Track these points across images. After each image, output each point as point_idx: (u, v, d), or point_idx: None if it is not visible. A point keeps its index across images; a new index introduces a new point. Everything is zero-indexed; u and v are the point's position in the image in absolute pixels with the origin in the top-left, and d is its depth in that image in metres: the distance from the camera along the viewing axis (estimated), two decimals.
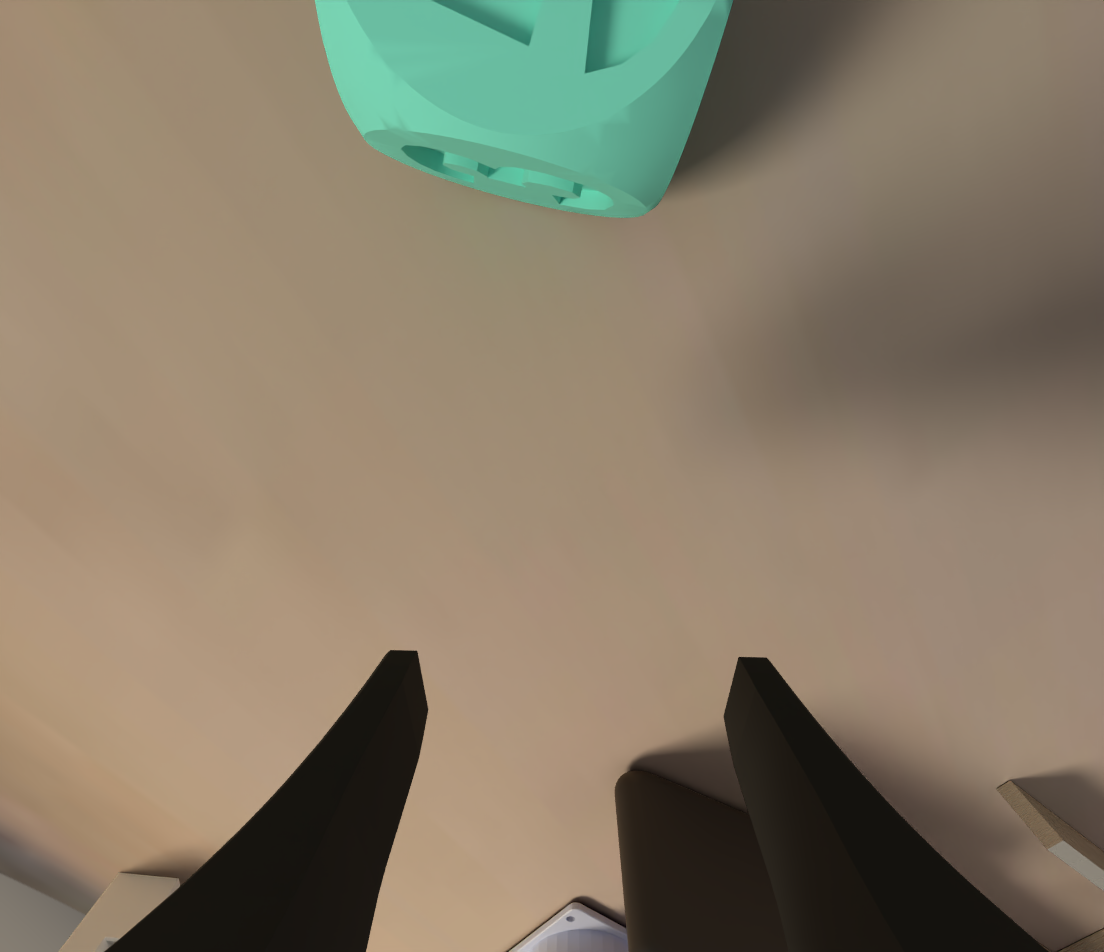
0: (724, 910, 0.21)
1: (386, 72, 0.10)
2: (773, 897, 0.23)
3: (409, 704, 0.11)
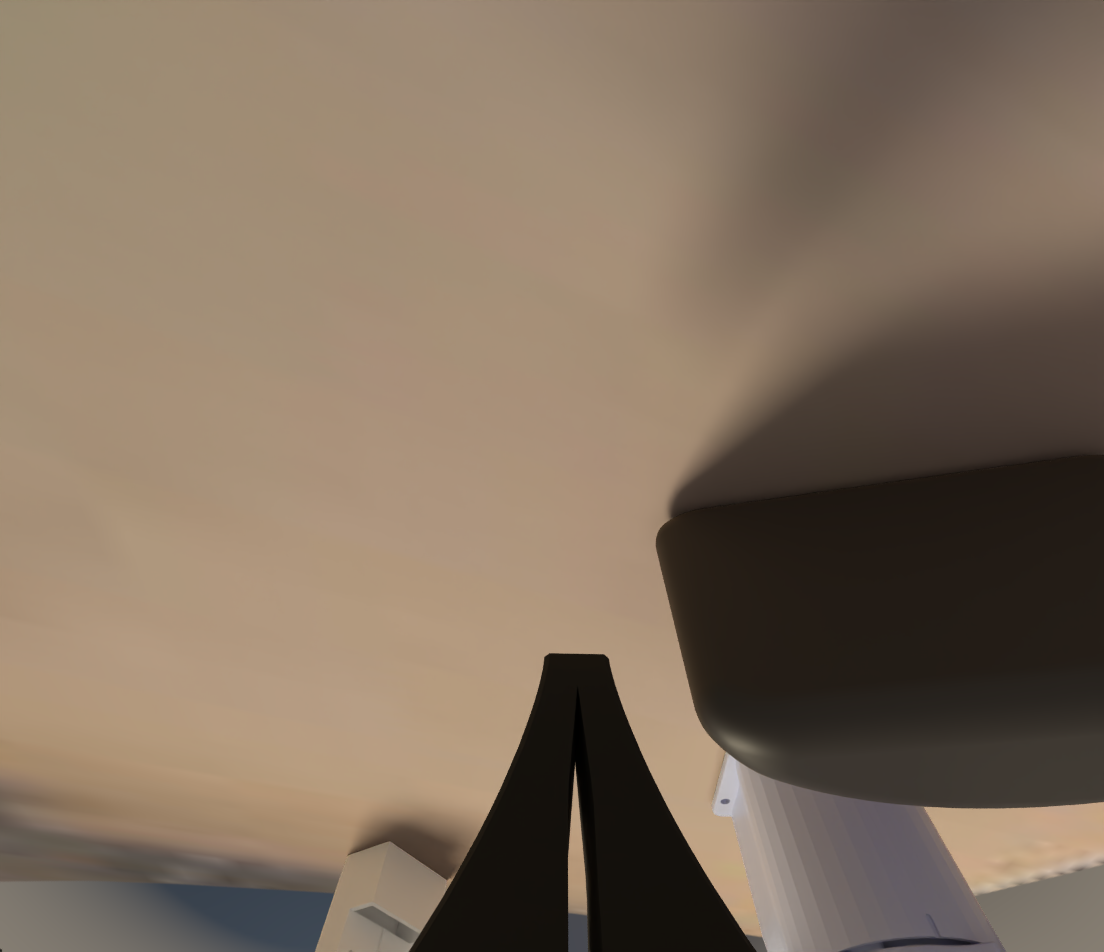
0: (835, 603, 0.14)
1: None
2: (927, 555, 0.15)
3: None
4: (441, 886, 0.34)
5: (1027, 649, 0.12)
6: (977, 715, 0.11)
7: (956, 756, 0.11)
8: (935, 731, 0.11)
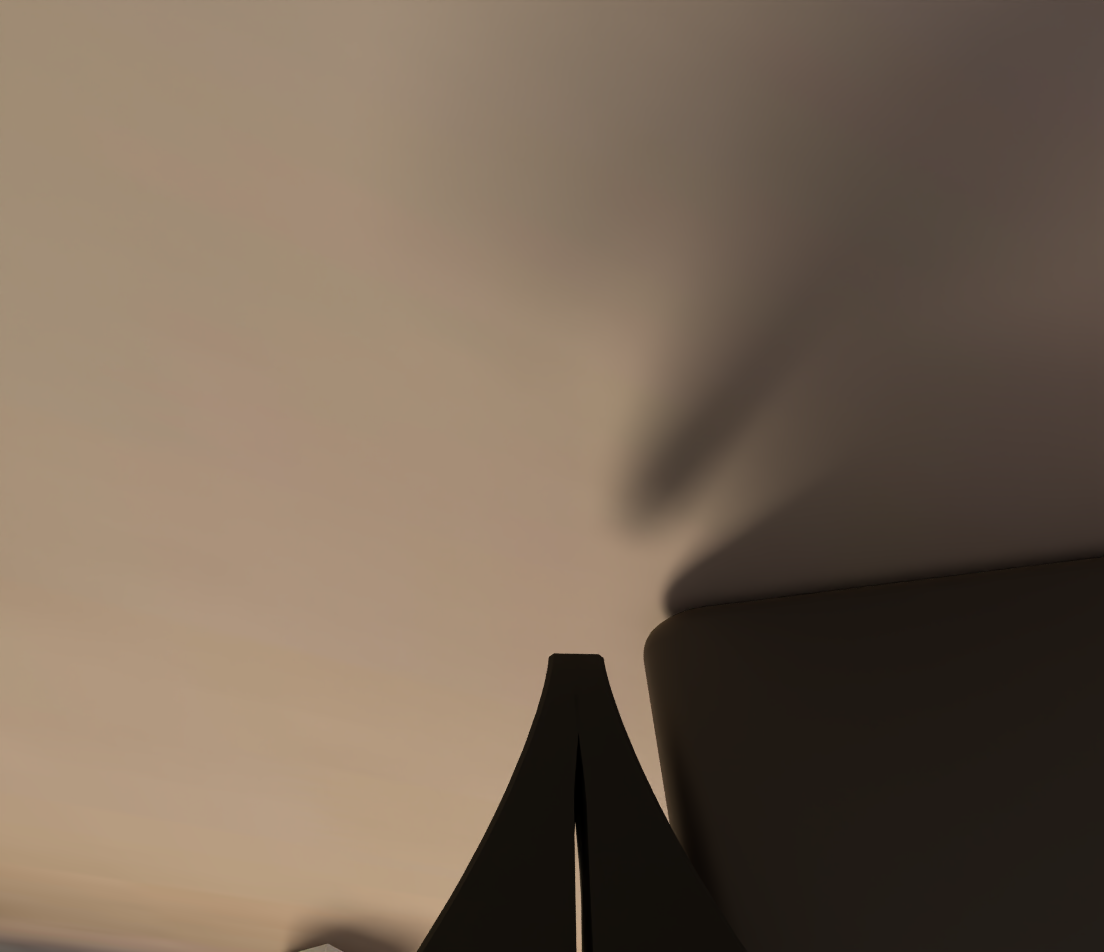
0: (904, 801, 0.09)
1: None
2: (1031, 714, 0.10)
3: None
4: None
5: None
6: None
7: None
8: None
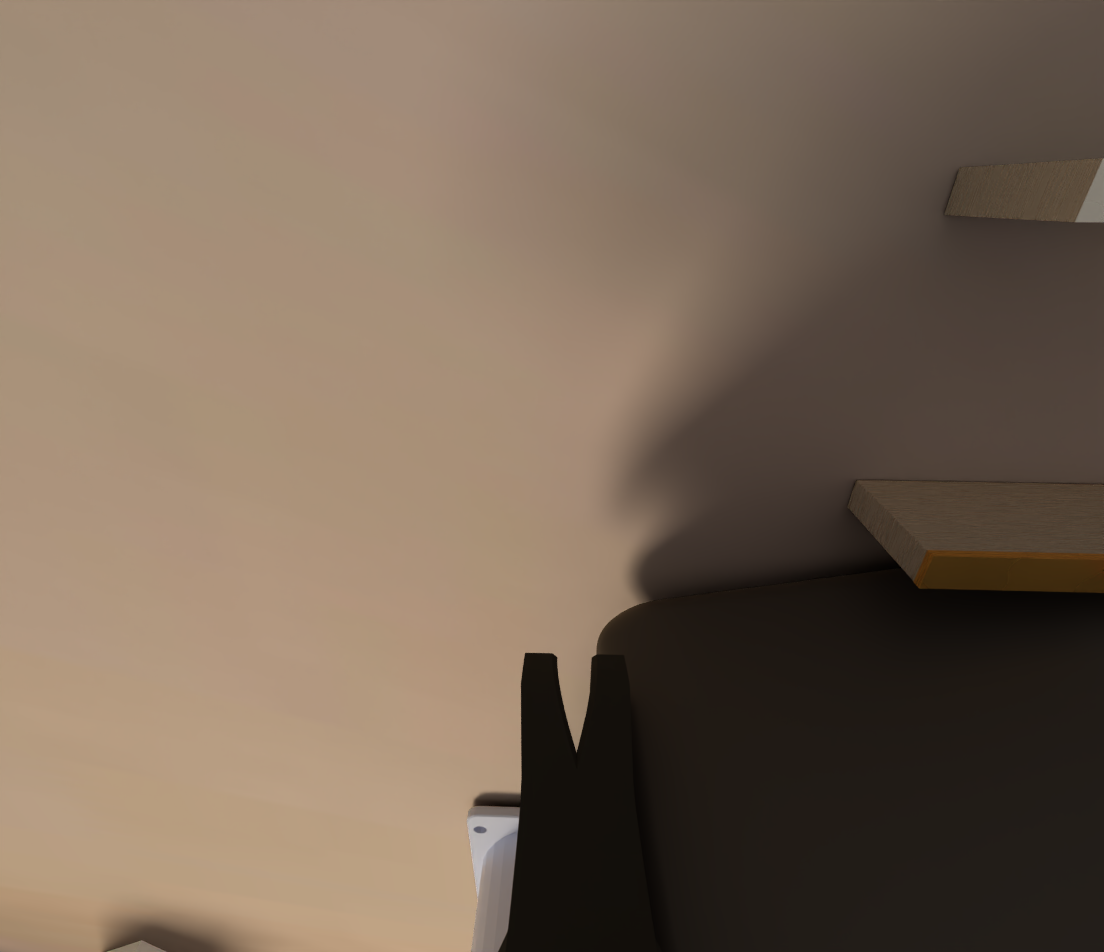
0: (848, 806, 0.09)
1: None
2: (978, 712, 0.10)
3: None
4: None
5: None
6: None
7: None
8: None
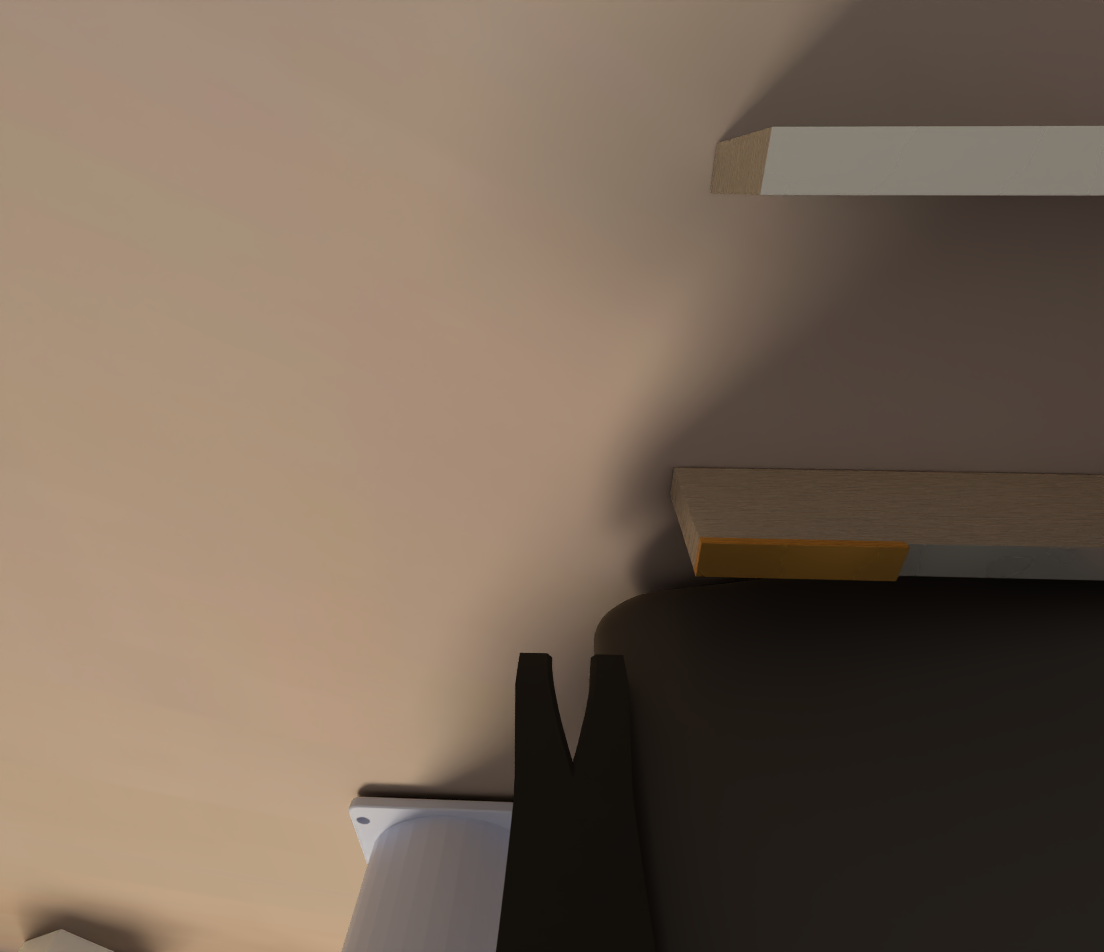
0: (850, 811, 0.09)
1: None
2: (988, 716, 0.10)
3: None
4: None
5: None
6: None
7: None
8: None
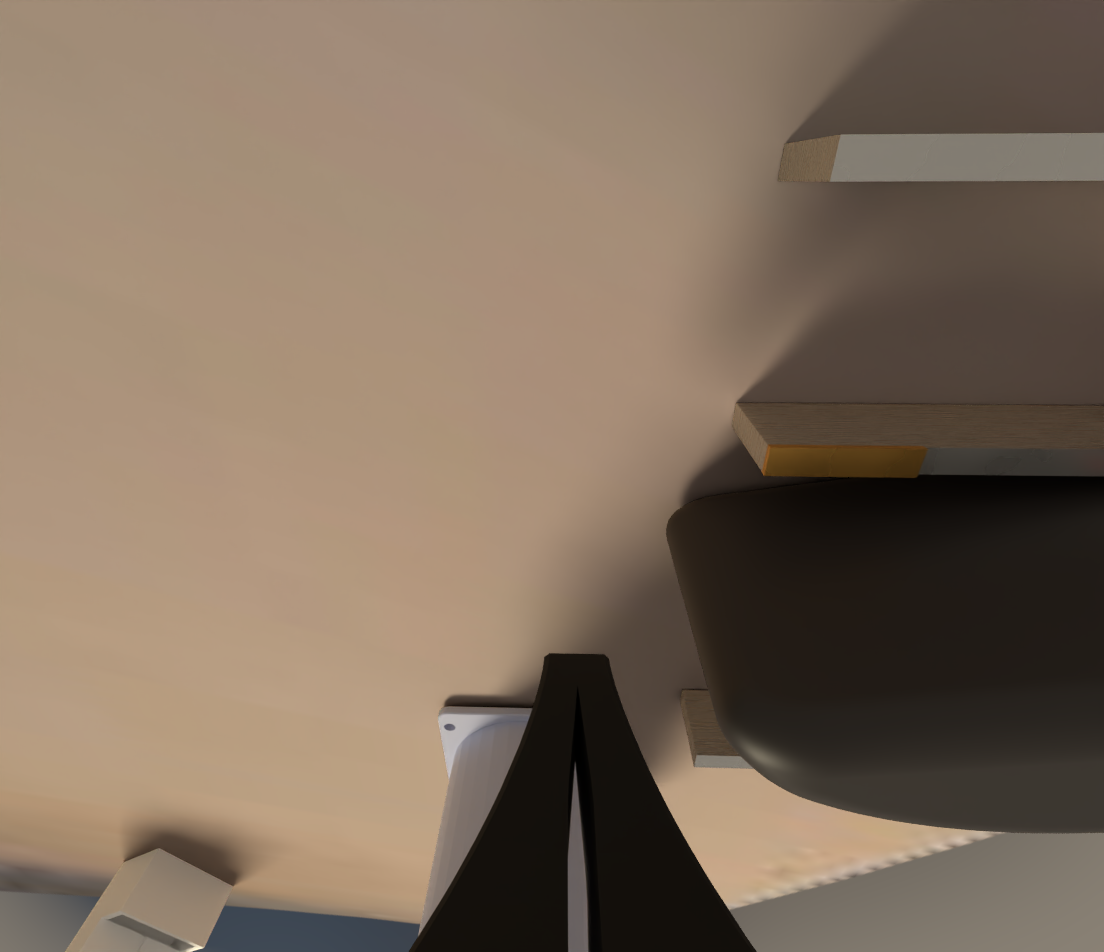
0: (872, 598, 0.12)
1: None
2: (973, 547, 0.13)
3: None
4: (223, 892, 0.33)
5: (1102, 655, 0.10)
6: (1048, 731, 0.09)
7: (1020, 777, 0.10)
8: (999, 748, 0.10)
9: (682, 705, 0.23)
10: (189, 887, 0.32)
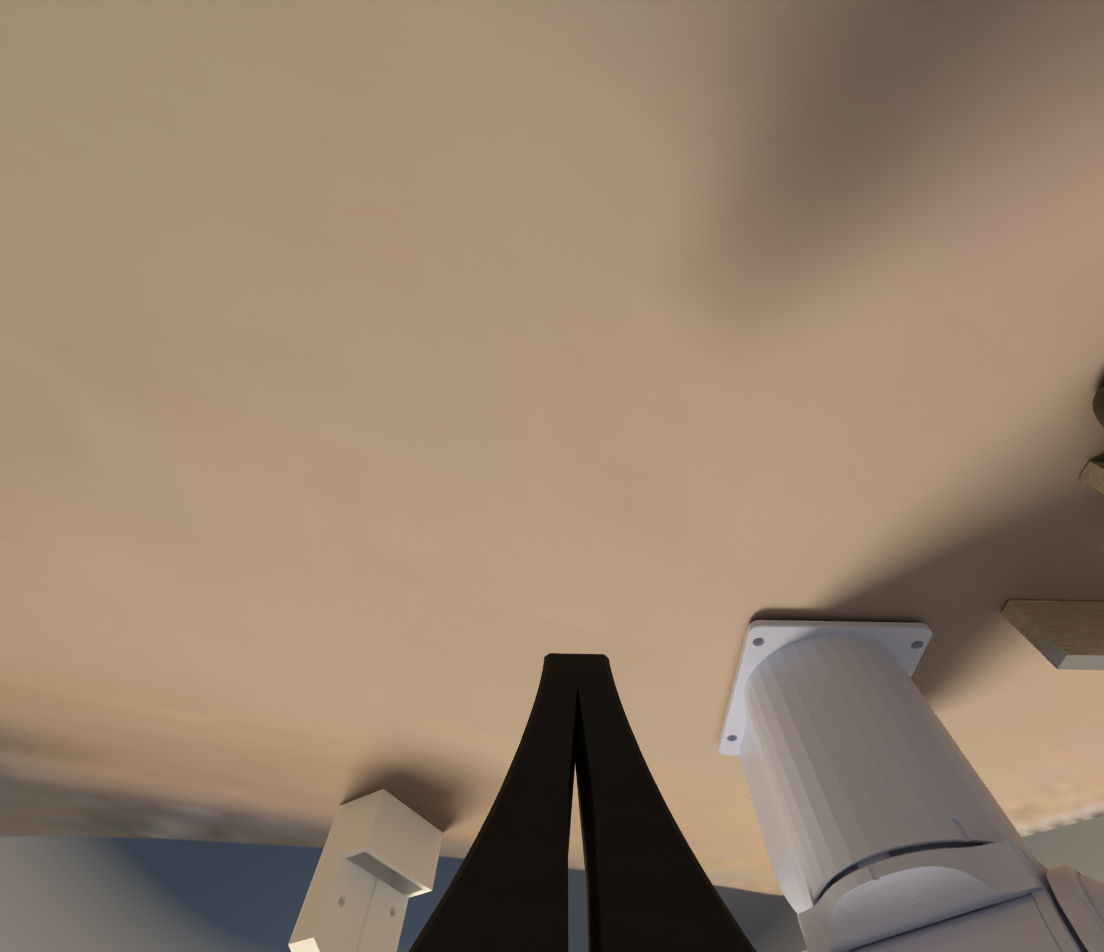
0: None
1: None
2: None
3: None
4: (437, 838, 0.33)
5: None
6: None
7: None
8: None
9: (1010, 615, 0.22)
10: (411, 830, 0.31)
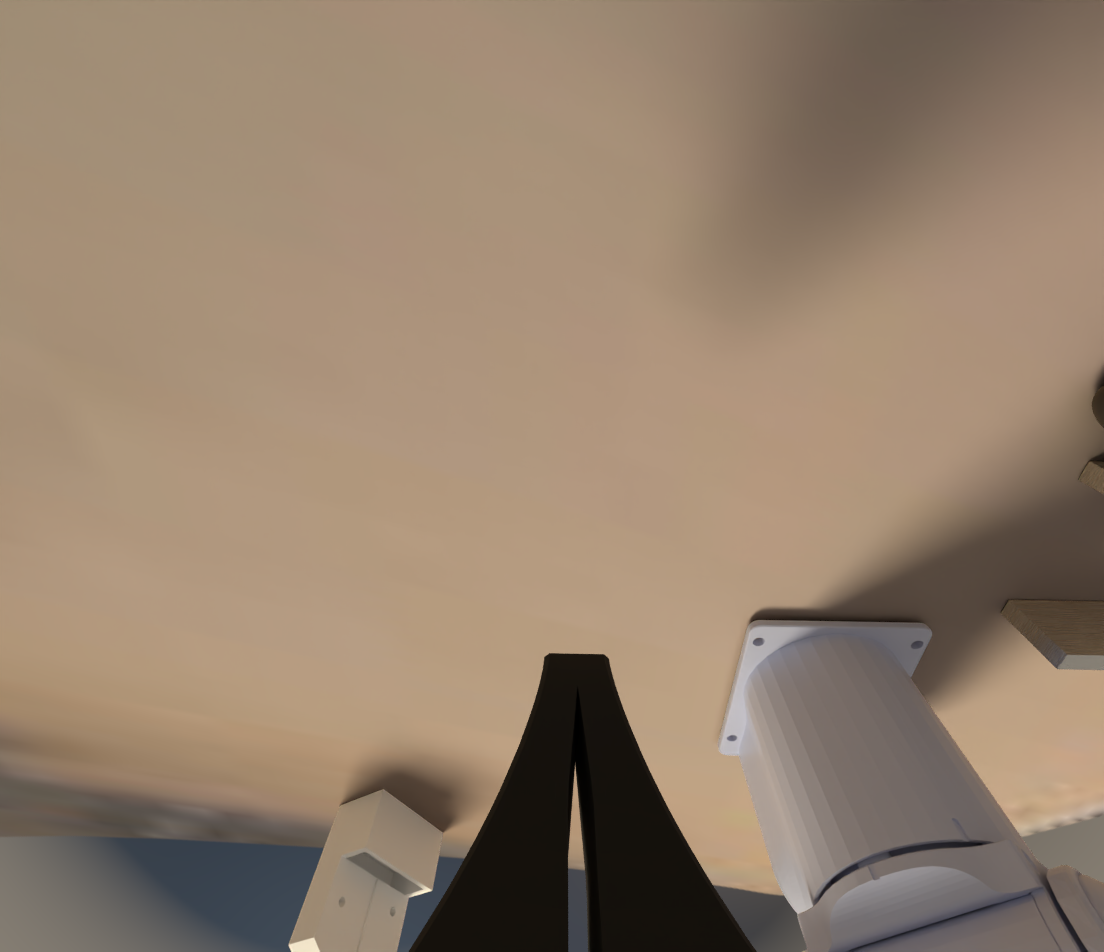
0: None
1: None
2: None
3: None
4: (437, 838, 0.33)
5: None
6: None
7: None
8: None
9: (1010, 615, 0.22)
10: (411, 830, 0.31)
